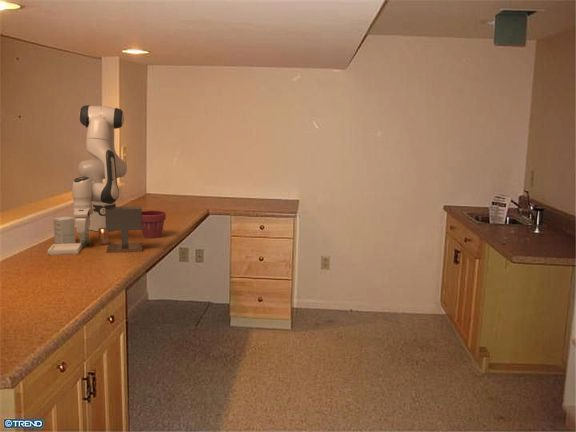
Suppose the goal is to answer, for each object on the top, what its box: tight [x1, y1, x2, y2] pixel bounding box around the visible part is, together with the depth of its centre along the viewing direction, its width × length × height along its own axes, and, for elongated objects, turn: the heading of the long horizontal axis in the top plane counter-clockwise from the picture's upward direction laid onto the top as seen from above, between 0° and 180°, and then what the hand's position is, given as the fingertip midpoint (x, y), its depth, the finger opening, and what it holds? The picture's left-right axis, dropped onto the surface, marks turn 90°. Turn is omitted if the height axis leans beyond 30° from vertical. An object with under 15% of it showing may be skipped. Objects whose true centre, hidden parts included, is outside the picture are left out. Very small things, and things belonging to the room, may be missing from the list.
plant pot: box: [141, 210, 167, 239], centre depth 300 cm, size 14×14×13 cm
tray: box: [47, 242, 83, 256], centre depth 267 cm, size 13×13×2 cm
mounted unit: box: [105, 205, 144, 254], centre depth 271 cm, size 12×16×20 cm
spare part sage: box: [78, 229, 90, 247], centre depth 279 cm, size 4×4×8 cm
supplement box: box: [53, 216, 77, 244], centre depth 282 cm, size 7×7×13 cm
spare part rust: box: [97, 228, 110, 247], centre depth 281 cm, size 4×4×8 cm
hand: (84, 238), depth 279 cm, fingers closed on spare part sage, 4 cm apart
